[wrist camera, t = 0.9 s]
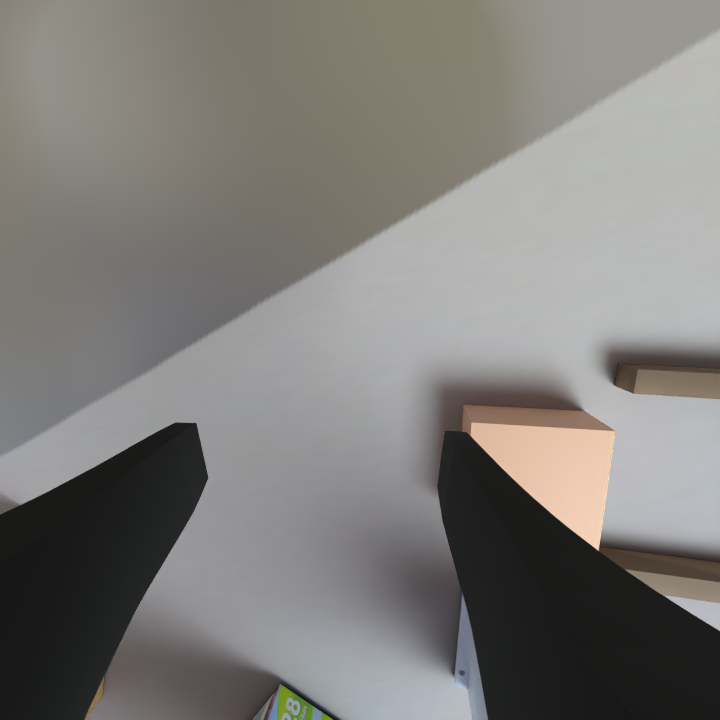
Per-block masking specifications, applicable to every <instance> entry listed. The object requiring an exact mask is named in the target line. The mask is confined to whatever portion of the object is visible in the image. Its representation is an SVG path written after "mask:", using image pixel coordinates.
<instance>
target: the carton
mask: <svg viewBox="0 0 720 720" xmlns="http://www.w3.org/2000/svg"><path fill="white" fill-rule="evenodd" d="M462 432H467V433H468V434H469V435H470V436H471V437H472V438H473V439H474V440H475V441H476V442H477V443H478V444H479V445H480V446H481V447H482V448H483V449H484V450H485V451H486V452H487V453H488V454H489V455H490V456H491V457H492V458H493V459H494V460H495V462H496V463H497V464H498V465H499V466H500V467H501V468H502V469H503V470H504V471H505V472H507V473H508V474H509V475H510V476H511V477H512V478H513V479H514V480H515V481H516V482H517V483H518V484H519V485H520V486H521V487H522V488H523V489H524V490H525V491H527V492H528V493H529V494H530V495H531V496H532V497H533V498H534V499H535V500H537V501H538V502H539V503H540V504H541V505H542V506H543V507H545V508H546V509H547V510H548V511H549V512H550V513H551V514H553V515H554V516H555V517H556V518H557V519H559V520H560V521H561V522H562V523H563V524H565V525H566V526H567V527H568V528H570V529H571V530H572V531H573V532H575V533H576V534H577V535H579V536H580V537H581V538H583V539H584V540H585V541H586V542H588V543H589V544H590V545H592V546H593V547H594V548H596V549H597V550H598V551H599V545H600V538H601V530H602V523H603V516H604V509H605V502H606V495H607V488H608V481H609V474H610V467H611V460H612V453H613V446H614V439H615V432H616V431H614V430H613V429H611V428H610V427H608V426H607V425H605V424H604V423H602V422H601V421H599V420H597V419H596V418H594V417H593V416H591V415H590V414H588V413H587V412H585V411H575V410H556V409H536V408H517V407H498V406H478V405H463V418H462Z"/></svg>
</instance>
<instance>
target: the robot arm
mask: <svg viewBox="0 0 720 720" xmlns="http://www.w3.org/2000/svg"><path fill="white" fill-rule="evenodd" d="M207 480H208V474H207V470H206V465H205V461H204V456H203V452H202V447H201V442H200V438H199V433H198V429H197V424H196V423H174V424H172V425H170V426H168V427H166V428H164V429H162V430H160V431H158V432H156V433H154V434H153V435H151V436H149V437H147V438H145V439H144V440H142V441H140V442H138V443H137V444H135V445H133V446H131V447H129V448H128V449H126V450H124V451H122V452H121V453H119V454H117V455H115V456H114V457H112V458H110V459H108V460H106V461H105V462H103V463H101V464H99V465H98V466H96V467H94V468H92V469H90V470H88V471H86V472H84V473H83V474H81V475H79V476H77V477H75V478H73V479H71V480H69V481H68V482H66V483H64V484H62V485H60V486H58V487H56V488H54V489H52V490H51V491H49V492H47V493H45V494H43V495H41V496H39V497H37V498H35V499H33V500H31V501H28V502H26V503H24V504H22V505H20V506H18V507H16V508H14V509H12V510H9V511H7V512H5V513H3V514H1V515H0V720H84V719H85V717H86V715H87V712H88V710H89V708H90V706H91V704H92V702H93V699H94V697H95V695H96V693H97V691H98V688H99V686H100V684H101V682H102V680H103V678H104V675H105V673H106V671H107V669H108V667H109V664H110V662H111V660H112V658H113V656H114V654H115V652H116V650H117V648H118V646H119V644H120V642H121V639H122V637H123V635H124V633H125V631H126V629H127V627H128V625H129V623H130V621H131V619H132V617H133V615H134V613H135V611H136V609H137V607H138V606H139V604H140V602H141V600H142V598H143V596H144V595H145V593H146V591H147V589H148V588H149V586H150V584H151V583H152V581H153V579H154V578H155V576H156V574H157V573H158V571H159V569H160V568H161V566H162V564H163V563H164V561H165V559H166V558H167V556H168V554H169V553H170V551H171V549H172V548H173V546H174V544H175V543H176V541H177V539H178V538H179V536H180V534H181V532H182V531H183V529H184V527H185V526H186V524H187V522H188V521H189V519H190V517H191V515H192V514H193V512H194V510H195V508H196V505H197V503H198V501H199V499H200V497H201V494H202V492H203V489H204V487H205V485H206V482H207ZM437 487H438V494H439V501H440V507H441V513H442V520H443V524H444V528H445V531H446V535H447V539H448V542H449V546H450V550H451V553H452V557H453V561H454V564H455V568H456V572H457V575H458V579H459V582H460V586H461V590H462V601H461V612H460V623H459V633H458V644H457V655H456V665H455V676H454V678H455V684H456V685H457V686H458V687H461V688H466V689H468V693H469V701H470V708H471V716H472V720H720V631H719V630H717V629H715V628H714V627H712V626H710V625H709V624H707V623H705V622H704V621H702V620H701V619H699V618H697V617H696V616H694V615H692V614H691V613H689V612H688V611H686V610H685V609H683V608H681V607H680V606H678V605H677V604H675V603H674V602H672V601H671V600H669V599H668V598H666V597H664V596H663V595H661V594H660V593H658V592H657V591H655V590H654V589H652V588H651V587H649V586H648V585H647V584H645V583H644V582H642V581H641V580H639V579H638V578H636V577H635V576H633V575H632V574H630V573H629V572H628V571H626V570H625V569H623V568H622V567H620V566H619V565H617V564H616V563H615V562H613V561H612V560H611V559H609V558H608V557H606V556H605V555H604V554H602V553H601V552H599V551H598V550H597V549H596V548H594V547H593V546H592V545H590V544H589V543H588V542H586V541H585V540H584V539H583V538H581V537H580V536H579V535H577V534H576V533H575V532H573V531H572V530H571V529H570V528H568V527H567V526H566V525H565V524H563V523H562V522H561V521H560V520H559V519H557V518H556V517H555V516H554V515H553V514H551V513H550V512H549V511H548V510H547V509H546V508H545V507H543V506H542V505H541V504H540V503H539V502H538V501H537V500H535V499H534V498H533V497H532V496H531V495H530V494H529V493H528V492H527V491H525V490H524V489H523V488H522V487H521V486H520V485H519V484H518V483H517V482H516V481H515V480H514V479H513V478H512V477H511V476H510V475H509V474H508V473H507V472H505V471H504V470H503V469H502V468H501V467H500V466H499V465H498V464H497V463H496V462H495V460H494V459H493V458H492V457H491V456H490V455H489V454H488V453H487V452H486V451H485V450H484V449H483V448H482V447H481V446H480V445H479V444H478V443H477V442H476V441H475V440H474V439H473V438H472V437H471V436H470V435H469V434H468V433H467V432H455V431H445V435H444V442H443V449H442V457H441V464H440V471H439V478H438V485H437ZM461 670H462V671H461Z"/></svg>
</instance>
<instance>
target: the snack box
mask: <svg viewBox="0 0 720 720" xmlns="http://www.w3.org/2000/svg"><path fill="white" fill-rule="evenodd" d="M253 720H333V719H332V718H330V717H329V716H327V715H326V714H324V713H323V712H321V711H320V710H318V709H317V708H315V707H314V706H312V705H311V704H309V703H308V702H306V701H305V700H303V699H302V698H300V697H299V696H297V695H296V694H294V693H293V692H291V691H290V690H288V689H287V688H285V687H284V686H282V685H281V684H279V687H278V688H277V690H276V691H275V692H274V694H273V695H272V696H271V697H270V698H269V700H268V701H267V702H266V703H265V705H264V706H263V707H262V708H261V710H260V711H259V712H258V714H257V715H256V716H255V717H254V719H253Z"/></svg>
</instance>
